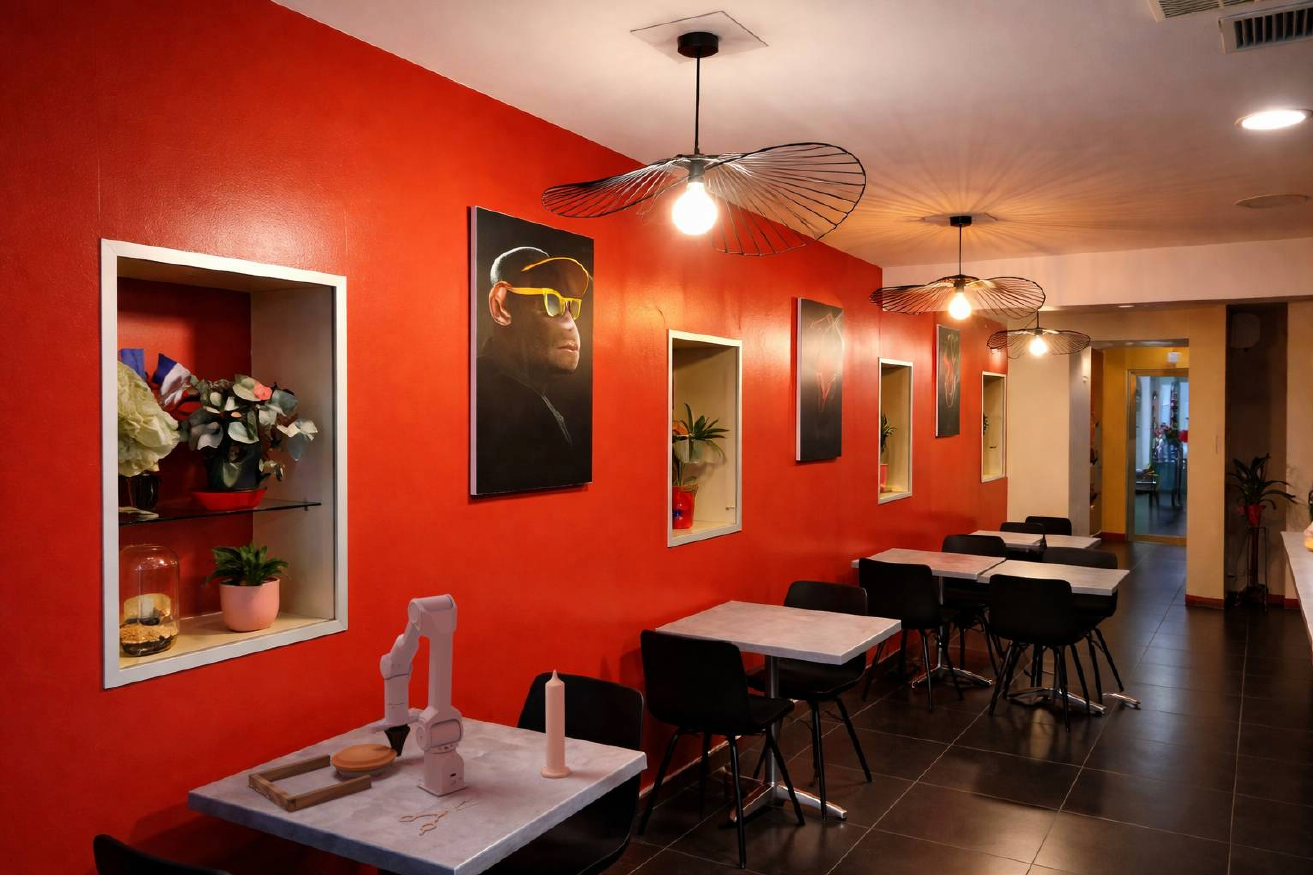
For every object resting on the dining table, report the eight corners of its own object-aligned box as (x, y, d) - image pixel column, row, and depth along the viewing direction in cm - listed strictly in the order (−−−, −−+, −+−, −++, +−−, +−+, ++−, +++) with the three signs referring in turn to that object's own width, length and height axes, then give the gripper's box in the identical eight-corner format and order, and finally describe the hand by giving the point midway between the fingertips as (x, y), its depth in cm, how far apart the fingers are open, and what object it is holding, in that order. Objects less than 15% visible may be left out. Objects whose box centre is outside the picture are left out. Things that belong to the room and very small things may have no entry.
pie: (317, 773, 228) (317, 752, 227) (371, 755, 240) (371, 735, 240) (356, 787, 218) (356, 766, 218) (410, 768, 231) (410, 747, 231)
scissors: (389, 820, 199) (464, 791, 215) (389, 824, 199) (464, 794, 215) (420, 834, 192) (495, 803, 208) (420, 838, 192) (495, 806, 208)
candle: (562, 779, 222) (562, 674, 222) (535, 776, 225) (535, 672, 225) (574, 769, 229) (574, 667, 229) (548, 766, 231) (547, 665, 231)
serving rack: (371, 787, 219) (371, 776, 219) (289, 811, 205) (289, 800, 205) (327, 763, 234) (327, 753, 234) (248, 785, 220) (248, 774, 220)
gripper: (413, 692, 243) (414, 744, 244) (362, 704, 233) (362, 758, 233) (428, 698, 238) (428, 751, 239) (376, 710, 228) (376, 766, 228)
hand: (397, 755), depth 236 cm, fingers closed
